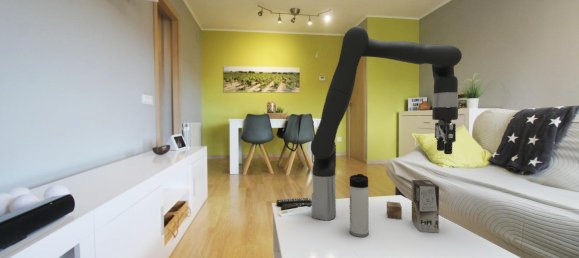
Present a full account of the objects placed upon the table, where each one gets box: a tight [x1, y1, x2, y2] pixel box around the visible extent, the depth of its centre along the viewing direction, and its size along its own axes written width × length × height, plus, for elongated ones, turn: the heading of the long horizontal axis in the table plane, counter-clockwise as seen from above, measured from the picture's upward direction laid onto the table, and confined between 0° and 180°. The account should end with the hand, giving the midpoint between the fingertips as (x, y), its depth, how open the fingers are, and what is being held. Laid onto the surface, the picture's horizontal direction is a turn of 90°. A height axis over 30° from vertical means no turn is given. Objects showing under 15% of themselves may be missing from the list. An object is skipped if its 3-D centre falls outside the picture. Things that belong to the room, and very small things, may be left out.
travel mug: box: [349, 173, 370, 238], centre depth 81 cm, size 6×7×20 cm
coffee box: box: [411, 179, 440, 233], centre depth 85 cm, size 9×6×16 cm
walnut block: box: [386, 201, 403, 220], centre depth 95 cm, size 5×5×5 cm
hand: (443, 152), depth 83 cm, fingers open, 8 cm apart
